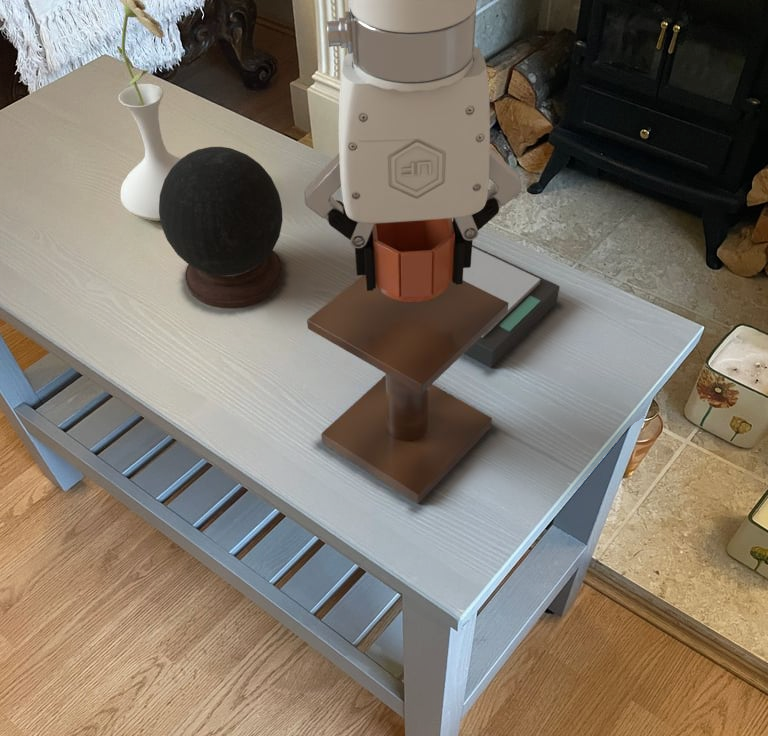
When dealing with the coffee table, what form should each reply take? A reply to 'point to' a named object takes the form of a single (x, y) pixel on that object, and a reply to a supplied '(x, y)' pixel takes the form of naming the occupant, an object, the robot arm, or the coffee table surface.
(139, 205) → the flower in vase
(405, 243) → the bowl
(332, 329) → the stand
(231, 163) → the black orb ornament
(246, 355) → the coffee table surface
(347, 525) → the coffee table surface
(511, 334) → the scale
